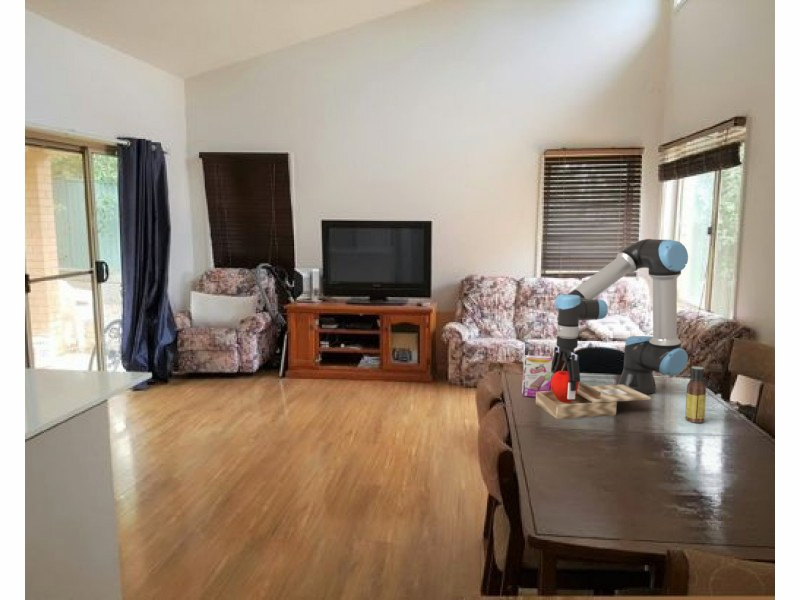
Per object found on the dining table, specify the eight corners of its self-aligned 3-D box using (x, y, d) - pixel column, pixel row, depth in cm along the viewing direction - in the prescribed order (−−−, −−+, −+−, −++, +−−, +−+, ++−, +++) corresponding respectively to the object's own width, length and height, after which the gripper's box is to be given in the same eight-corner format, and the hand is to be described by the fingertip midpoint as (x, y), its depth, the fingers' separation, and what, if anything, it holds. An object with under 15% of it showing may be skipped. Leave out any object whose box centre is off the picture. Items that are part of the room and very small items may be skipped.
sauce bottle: (702, 419, 211) (707, 366, 208) (705, 424, 205) (710, 370, 202) (682, 416, 213) (687, 364, 210) (685, 422, 207) (690, 368, 204)
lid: (623, 386, 232) (623, 378, 232) (650, 399, 216) (651, 391, 215) (569, 389, 226) (569, 381, 226) (593, 402, 210) (593, 394, 210)
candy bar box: (522, 397, 232) (524, 357, 230) (521, 393, 237) (523, 354, 235) (551, 398, 231) (553, 359, 229) (549, 395, 236) (551, 356, 234)
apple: (544, 401, 217) (546, 369, 215) (558, 396, 224) (560, 365, 222) (568, 407, 210) (570, 375, 208) (582, 402, 217) (584, 370, 215)
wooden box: (590, 400, 230) (591, 388, 229) (615, 415, 213) (616, 402, 212) (535, 404, 224) (536, 391, 223) (557, 418, 208) (557, 405, 207)
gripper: (544, 330, 223) (540, 386, 226) (574, 343, 202) (570, 404, 205) (561, 330, 225) (558, 385, 228) (593, 342, 204) (589, 403, 207)
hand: (563, 394), depth 217 cm, fingers closed on apple, 10 cm apart
